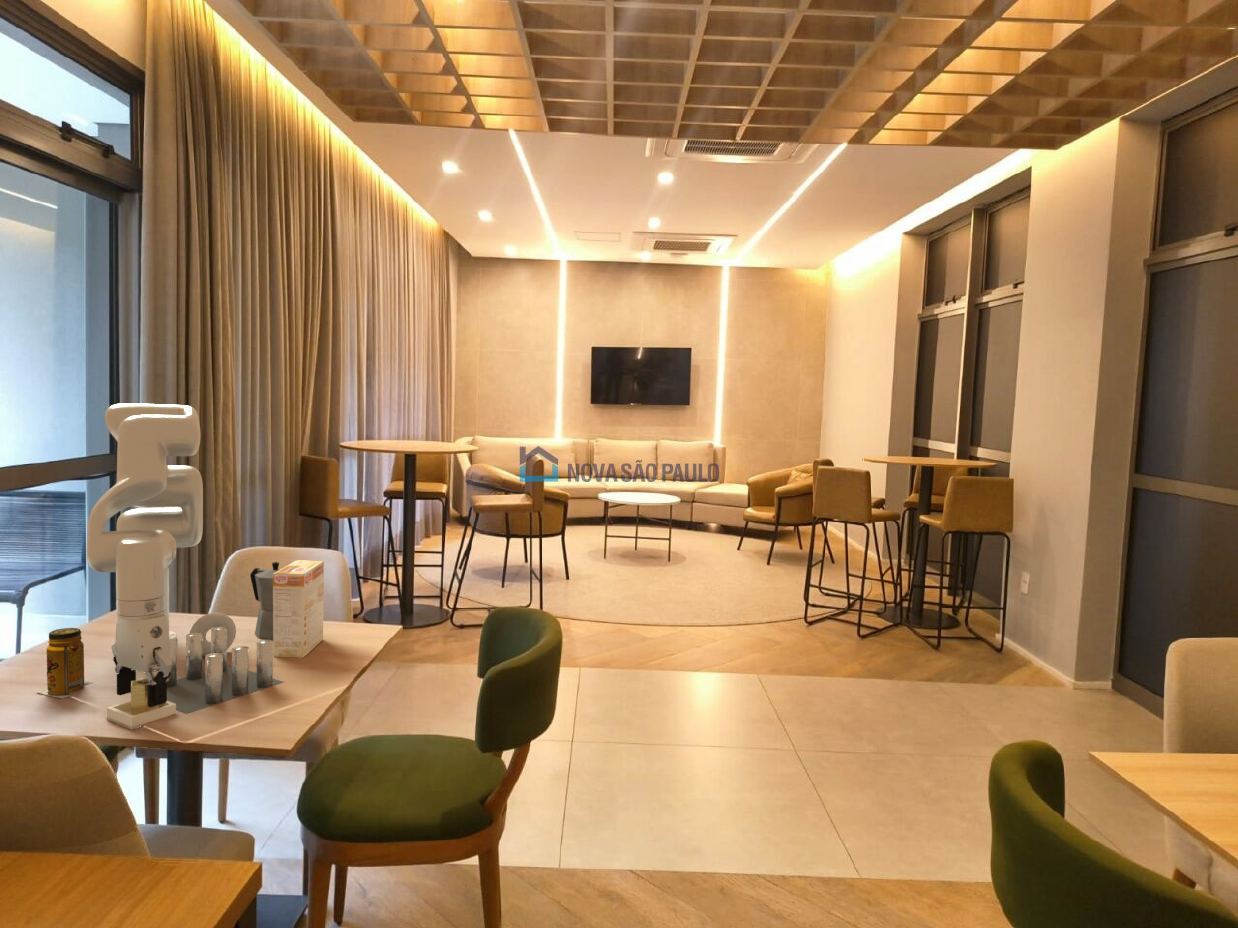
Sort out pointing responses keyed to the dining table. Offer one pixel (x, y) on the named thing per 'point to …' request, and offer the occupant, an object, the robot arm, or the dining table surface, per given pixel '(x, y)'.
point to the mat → (193, 691)
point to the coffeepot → (264, 599)
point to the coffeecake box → (298, 608)
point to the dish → (123, 714)
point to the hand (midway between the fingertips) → (141, 698)
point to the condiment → (65, 663)
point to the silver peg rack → (222, 664)
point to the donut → (212, 622)
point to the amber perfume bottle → (140, 696)
